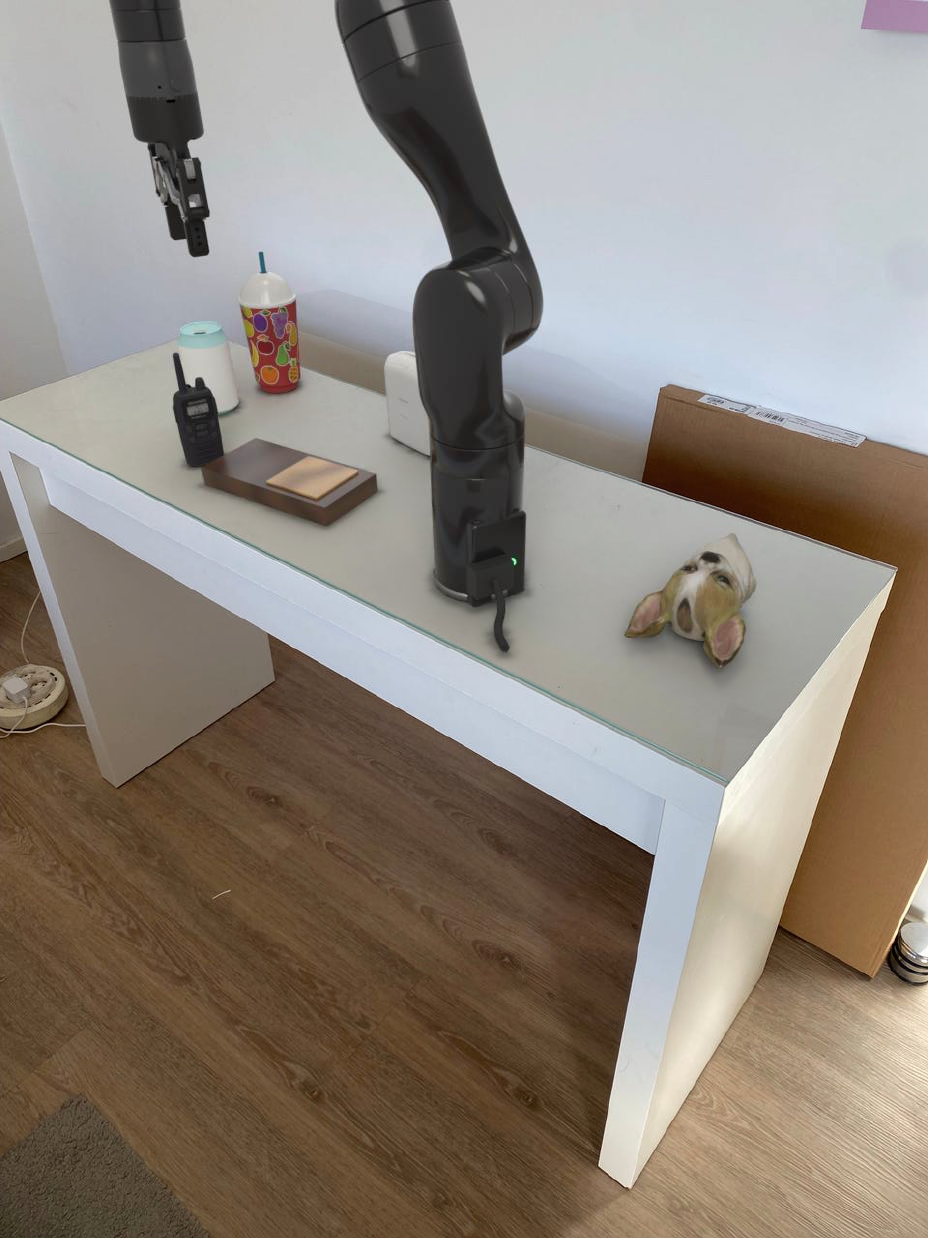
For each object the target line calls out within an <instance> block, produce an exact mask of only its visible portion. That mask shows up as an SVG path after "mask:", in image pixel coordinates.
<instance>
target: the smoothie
mask: <svg viewBox="0 0 928 1238" xmlns="http://www.w3.org/2000/svg"><path fill="white" fill-rule="evenodd" d="M258 258H259V266H260V271H257V272H255V273H253V274H252V275H250V276H249V277H248V278H247V279H246V280H245V282H244V283H243V285H242V288H241V291H240V295H239V296H238V298H237V301H238V305H239V309H240V314H241V319H242V323H243V328H244V331H245V332H244V333H245V337H246V341H247V345H248V350H249V354H250V359H251V363H252V368H253V373H254V377H255V382H256V383H257V384H259V386H260V389H261V390H262V391H264V392H266V393H270V394H283V393H288V392H291V391H293V390H295V389H296V388H297V387H298V385H299V380H301V363H300V362H301V361H300V347H299V346H300V345H299V332H298V331H299V329H298V327H299V326H298V312H297V311H298V310H297V300H296V299H297V295H296V293H295V291H293V289H292V287H291V286H290V284H289V283H288V281H287V280H286V279H285V278H284V277H282V275H279V274H278V273H275V272H273V271H269V270H266V263H265V262H266V261H265V256H264V251H258Z"/></svg>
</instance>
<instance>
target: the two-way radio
mask: <svg viewBox="0 0 928 1238" xmlns="http://www.w3.org/2000/svg"><path fill="white" fill-rule="evenodd" d="M172 359H173V360H172V361H173V365H174V366H173V367H174V371H175V377H176V382H177V388H178V390H177V391H175V392H174V394H173V395H172V396H173V397H172V401H173V402H172V411H173V416H174V420H175V421H174V422H175V424H176V426H177V430H178V431H177V432H178V435H179V440H180V444H181V447H182V451H183V455H184V459H185V462H186V464H187V465H189V466H191V467H195V468H197V467H199V466H205V465H207V464H208V463H210V462H212V461H214V460H216V459H218V458H220V457H221V456H223V455H225V451H224V444H223V435H222V432H221V431H222V430H221V426H220V420H219V415H218V410H217V405H216V400H215V398H214V396H213V394H212V392H211V390H210V389H209V388H208V387H206V386H205V383H204V380H203V378H202V377H197V378H196V379H195V387H191V385H189V384H186V382H185V378H184V373H183V369H182V364H181V359H180V354H179V352H173V353H172Z"/></svg>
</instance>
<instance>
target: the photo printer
mask: <svg viewBox="0 0 928 1238" xmlns="http://www.w3.org/2000/svg"><path fill="white" fill-rule="evenodd" d="M383 368H384V369H383V375H384V385H385V386H384V389H385V400H386V412H387V413H386V414H387V425H388V432H389V435H390V436H391V437H392V438H393V439H395V440H397V441H398V442H400V443H402V444H404V445H405V446H408V447H409V448H411V449H413V450H415V451H417V452H419V453H421V454H422V455H426V456H429V457H430V440H429V420H428V416H427V414H426V412H425V410H424V407H423V405H422V402H421V399H420V395H419V388H418V379H417V368H416V358H415V351H410V350H409V351H408V350H401V351H396V352H393V353H390V354H388V356H387V358H386V360H385V361H384V367H383Z"/></svg>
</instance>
